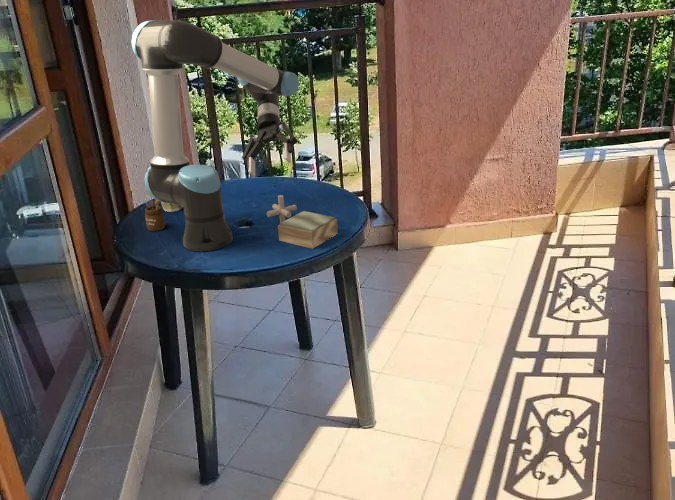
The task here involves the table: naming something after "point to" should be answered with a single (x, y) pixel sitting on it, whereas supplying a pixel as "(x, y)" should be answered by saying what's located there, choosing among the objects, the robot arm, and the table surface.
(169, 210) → the ceramic cup
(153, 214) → the utensil holder
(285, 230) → the lidded wooden box
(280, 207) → the pipe connector
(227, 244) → the robot arm
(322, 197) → the table surface
